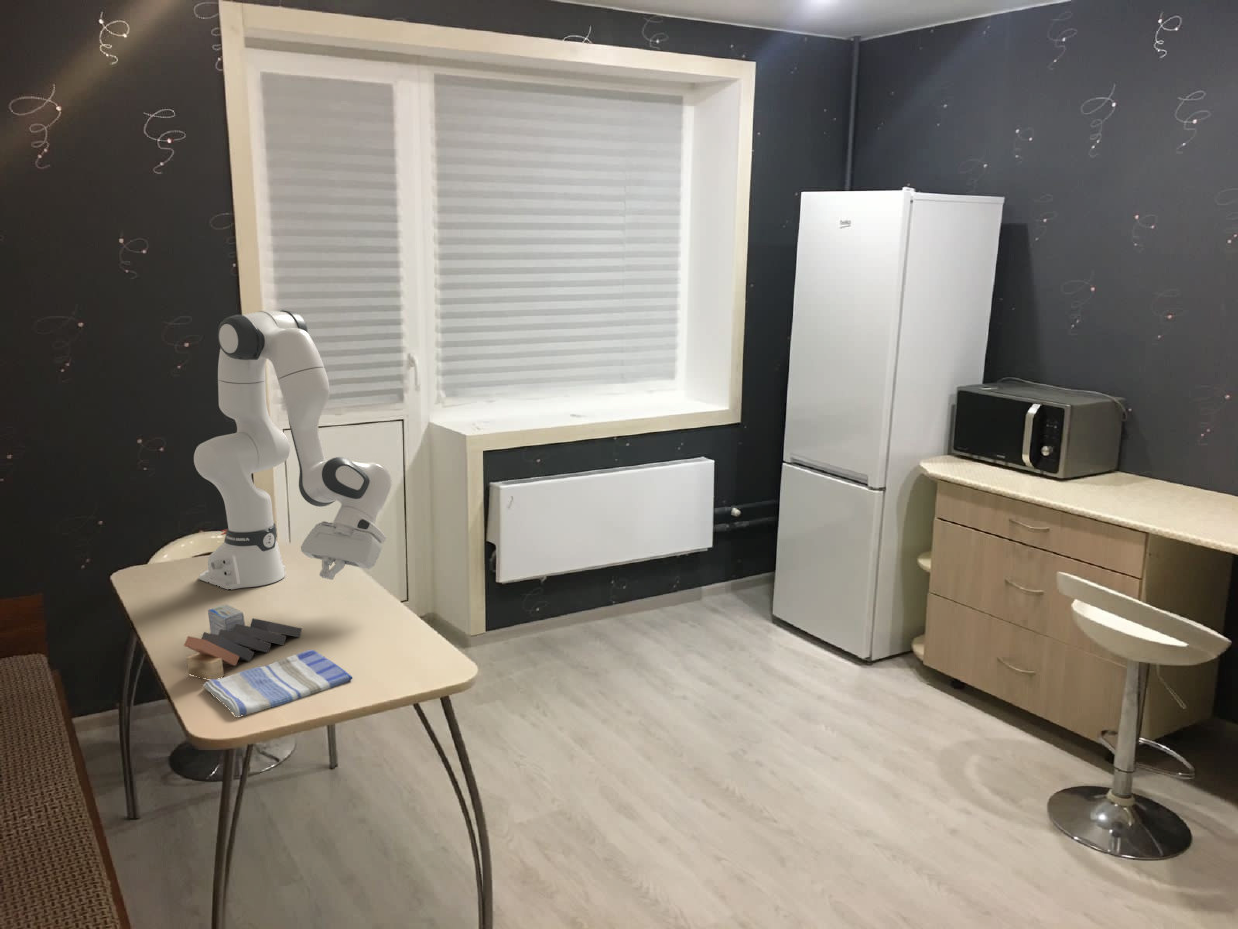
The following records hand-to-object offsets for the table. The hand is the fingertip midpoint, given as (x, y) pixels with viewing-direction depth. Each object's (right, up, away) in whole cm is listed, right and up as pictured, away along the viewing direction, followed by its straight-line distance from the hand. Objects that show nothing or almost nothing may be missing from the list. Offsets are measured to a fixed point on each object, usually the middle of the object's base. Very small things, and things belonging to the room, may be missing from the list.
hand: (325, 577), depth 223 cm
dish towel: (+1, -18, -34) cm, 38 cm away
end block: (-15, -16, -29) cm, 37 cm away
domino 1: (-13, -14, -25) cm, 31 cm away
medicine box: (-16, -14, -16) cm, 26 cm away
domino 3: (-9, -13, -17) cm, 23 cm away
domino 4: (-7, -12, -13) cm, 19 cm away
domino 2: (-11, -14, -21) cm, 27 cm away
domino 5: (-5, -11, -9) cm, 15 cm away
